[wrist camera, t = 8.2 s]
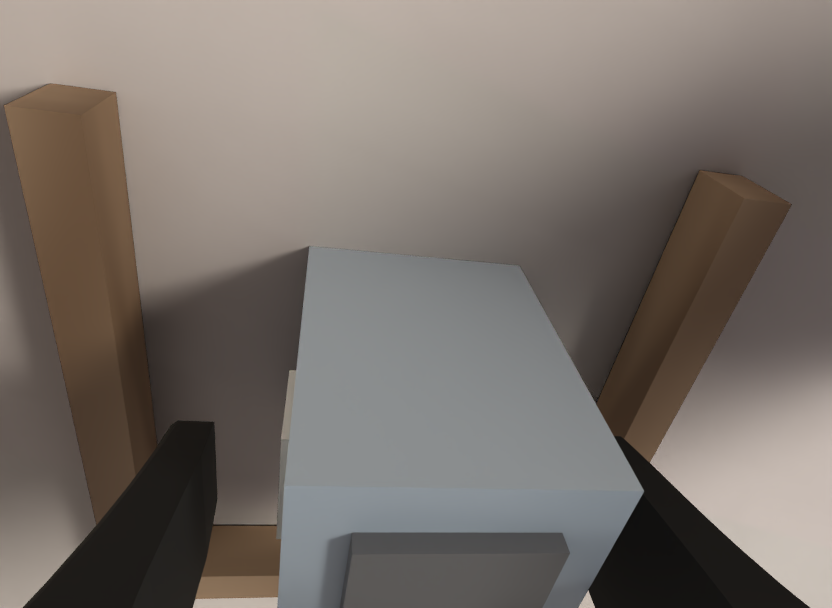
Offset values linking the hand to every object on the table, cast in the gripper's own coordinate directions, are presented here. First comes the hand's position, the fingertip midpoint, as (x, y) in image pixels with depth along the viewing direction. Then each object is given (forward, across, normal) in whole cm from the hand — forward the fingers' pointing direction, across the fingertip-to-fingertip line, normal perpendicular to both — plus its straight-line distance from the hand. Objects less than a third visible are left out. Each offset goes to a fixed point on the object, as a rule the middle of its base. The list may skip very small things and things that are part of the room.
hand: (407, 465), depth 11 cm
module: (+3, 0, -1) cm, 3 cm away
